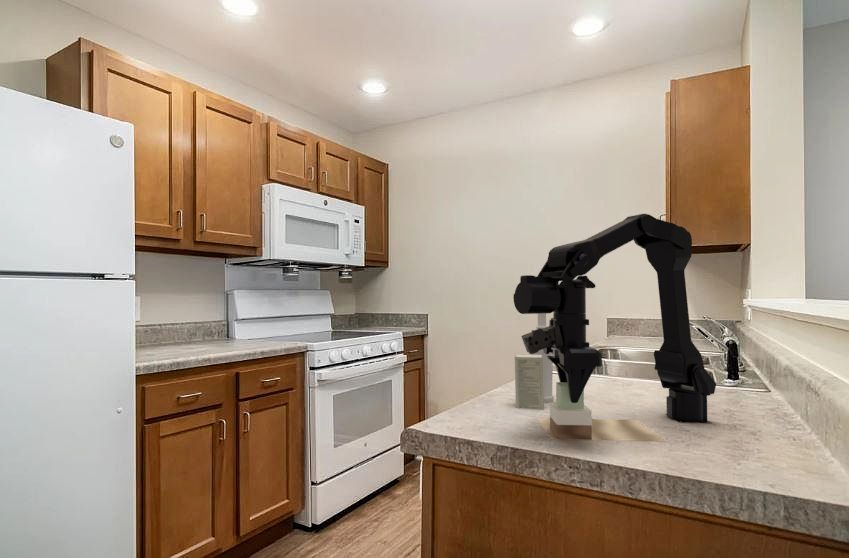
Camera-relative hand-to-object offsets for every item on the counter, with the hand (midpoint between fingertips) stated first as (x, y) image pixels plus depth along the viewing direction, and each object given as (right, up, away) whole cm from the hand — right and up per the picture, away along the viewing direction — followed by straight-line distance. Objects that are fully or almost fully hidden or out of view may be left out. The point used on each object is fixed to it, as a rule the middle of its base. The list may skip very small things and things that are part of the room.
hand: (570, 398), depth 87 cm
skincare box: (-3, -8, +21) cm, 23 cm away
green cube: (0, -1, 0) cm, 1 cm away
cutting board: (+6, -7, +3) cm, 10 cm away
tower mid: (0, -4, 0) cm, 4 cm away
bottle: (+2, -8, +27) cm, 28 cm away
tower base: (0, -6, 0) cm, 6 cm away
